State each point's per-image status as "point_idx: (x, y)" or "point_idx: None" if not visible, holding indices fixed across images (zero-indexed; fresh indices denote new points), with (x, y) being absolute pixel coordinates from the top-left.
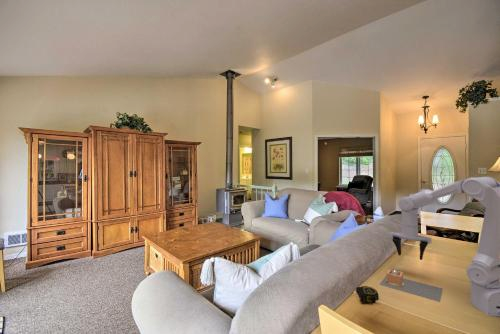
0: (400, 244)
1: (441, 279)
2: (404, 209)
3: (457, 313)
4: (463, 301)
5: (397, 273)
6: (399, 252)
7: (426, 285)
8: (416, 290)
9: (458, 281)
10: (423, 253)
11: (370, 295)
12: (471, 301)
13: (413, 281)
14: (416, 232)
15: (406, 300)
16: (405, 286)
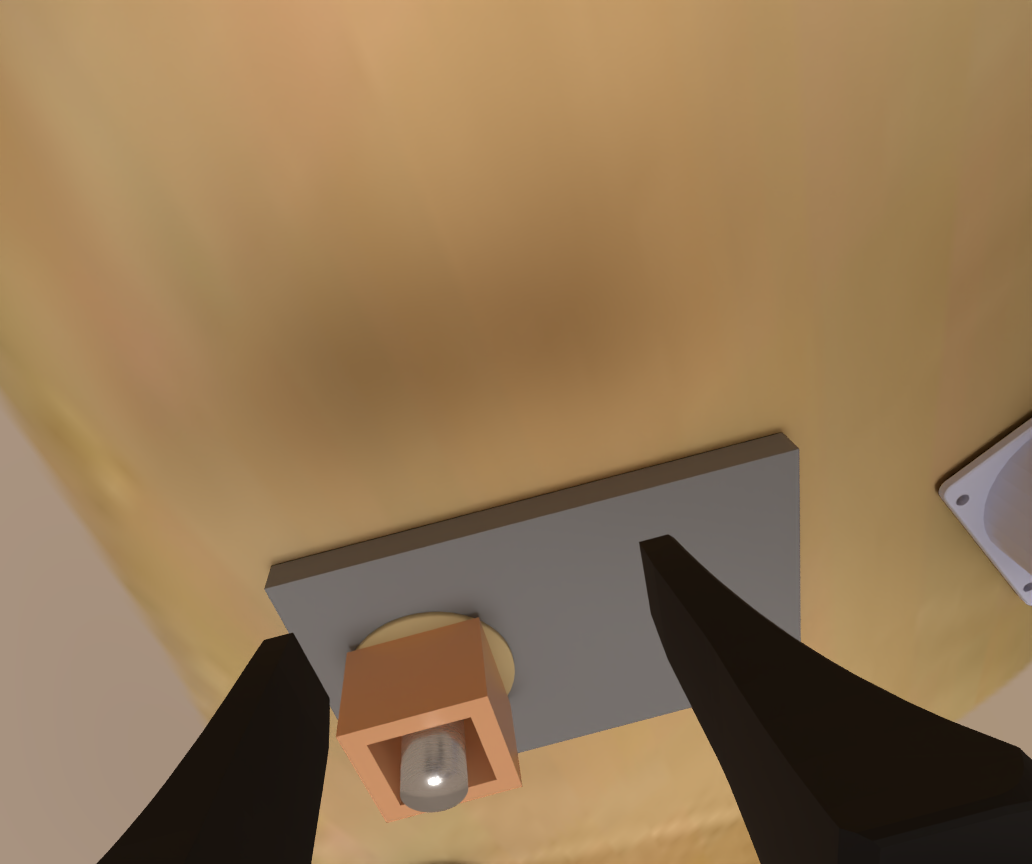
0: (222, 854)
1: (728, 81)
2: None
3: (883, 658)
4: (930, 473)
5: (466, 766)
6: (320, 774)
7: (664, 515)
8: (627, 662)
9: None
10: (730, 591)
11: None
12: (1012, 550)
13: (541, 533)
14: None
15: (601, 757)
16: (535, 671)
